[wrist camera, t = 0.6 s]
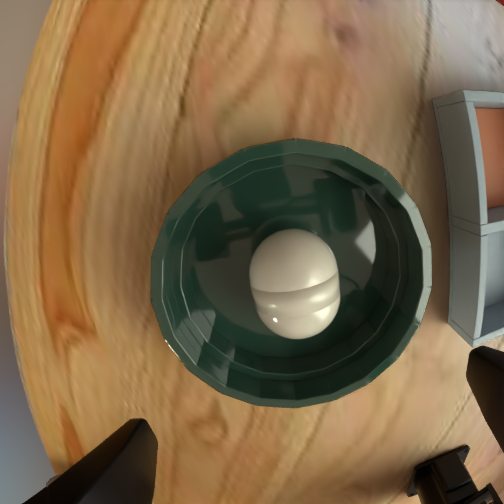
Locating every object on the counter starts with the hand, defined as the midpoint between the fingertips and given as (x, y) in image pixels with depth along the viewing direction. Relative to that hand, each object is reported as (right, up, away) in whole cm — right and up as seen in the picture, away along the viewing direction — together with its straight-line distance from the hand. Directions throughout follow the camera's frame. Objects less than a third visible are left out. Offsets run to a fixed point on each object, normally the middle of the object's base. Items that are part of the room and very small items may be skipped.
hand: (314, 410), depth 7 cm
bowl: (+1, +3, +11) cm, 11 cm away
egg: (+1, +3, +10) cm, 11 cm away
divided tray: (+17, +7, +9) cm, 21 cm away
